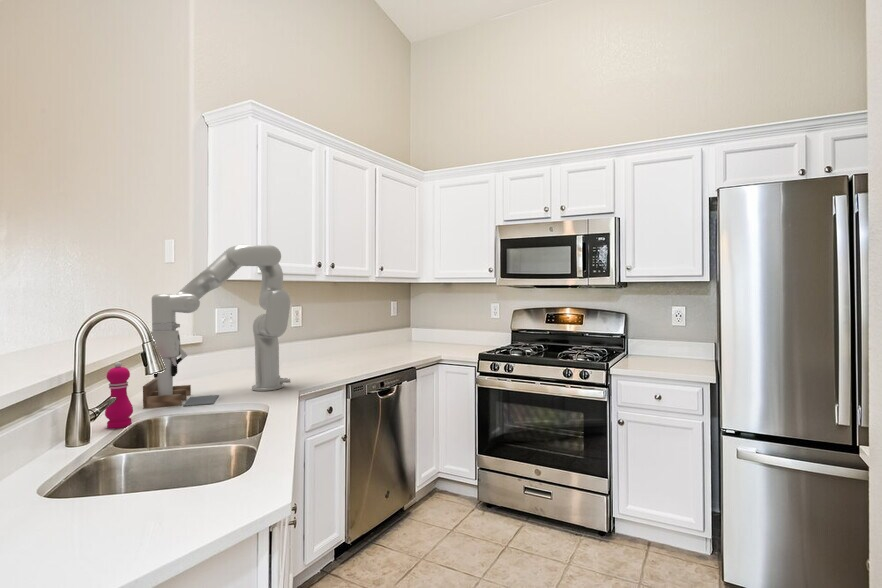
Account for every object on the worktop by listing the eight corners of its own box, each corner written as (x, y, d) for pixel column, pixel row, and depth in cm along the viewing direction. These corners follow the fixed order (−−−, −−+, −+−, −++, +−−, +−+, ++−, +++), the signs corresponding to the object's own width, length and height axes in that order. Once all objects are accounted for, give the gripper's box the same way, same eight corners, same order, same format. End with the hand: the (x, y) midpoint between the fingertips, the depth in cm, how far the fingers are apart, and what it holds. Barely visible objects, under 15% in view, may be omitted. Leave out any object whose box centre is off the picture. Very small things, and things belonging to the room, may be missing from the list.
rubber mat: (218, 396, 185) (218, 394, 185) (213, 404, 172) (213, 402, 172) (190, 398, 182) (190, 396, 182) (182, 406, 169) (182, 405, 169)
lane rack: (190, 394, 188) (190, 374, 188) (181, 405, 171) (180, 383, 171) (156, 397, 185) (156, 377, 184) (143, 408, 167) (142, 386, 167)
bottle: (166, 406, 170) (165, 337, 170) (154, 405, 171) (152, 337, 171) (176, 402, 176) (175, 336, 175) (164, 402, 176) (163, 336, 176)
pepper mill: (119, 429, 142) (117, 364, 142) (99, 428, 143) (97, 363, 143) (139, 423, 149) (137, 360, 149) (119, 422, 150) (118, 360, 150)
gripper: (191, 325, 179) (192, 373, 180) (140, 327, 174) (141, 376, 174) (187, 327, 172) (188, 376, 172) (134, 329, 167) (135, 380, 167)
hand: (165, 375), depth 173 cm, fingers closed on bottle, 5 cm apart
